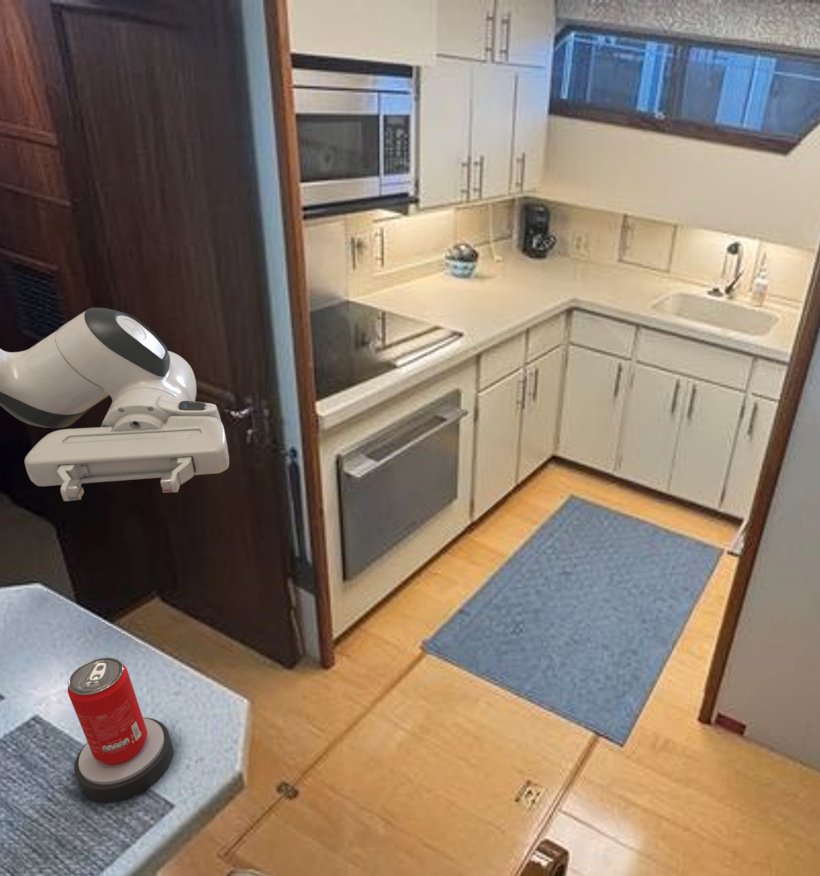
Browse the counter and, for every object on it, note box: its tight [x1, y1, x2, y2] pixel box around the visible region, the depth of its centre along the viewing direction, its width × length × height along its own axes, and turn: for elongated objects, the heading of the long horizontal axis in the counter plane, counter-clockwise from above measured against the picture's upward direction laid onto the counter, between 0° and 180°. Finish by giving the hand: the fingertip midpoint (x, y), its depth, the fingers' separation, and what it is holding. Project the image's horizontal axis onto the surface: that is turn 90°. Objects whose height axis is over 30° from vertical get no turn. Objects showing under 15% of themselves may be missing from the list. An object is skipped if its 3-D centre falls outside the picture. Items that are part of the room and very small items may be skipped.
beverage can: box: [67, 657, 147, 765], centre depth 75 cm, size 5×5×12 cm
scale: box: [73, 717, 174, 803], centre depth 78 cm, size 9×9×3 cm
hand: (120, 491), depth 77 cm, fingers open, 8 cm apart
